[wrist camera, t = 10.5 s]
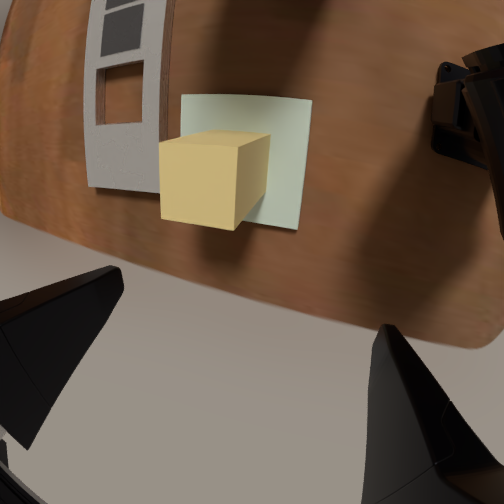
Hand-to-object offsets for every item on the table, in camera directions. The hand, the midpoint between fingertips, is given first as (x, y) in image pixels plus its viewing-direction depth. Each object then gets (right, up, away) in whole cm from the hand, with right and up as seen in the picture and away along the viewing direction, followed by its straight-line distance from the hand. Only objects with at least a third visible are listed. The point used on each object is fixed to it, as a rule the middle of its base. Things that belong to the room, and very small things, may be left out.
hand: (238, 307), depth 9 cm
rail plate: (-10, +16, +10) cm, 21 cm away
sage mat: (0, +8, +11) cm, 14 cm away
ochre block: (0, +8, +10) cm, 13 cm away
